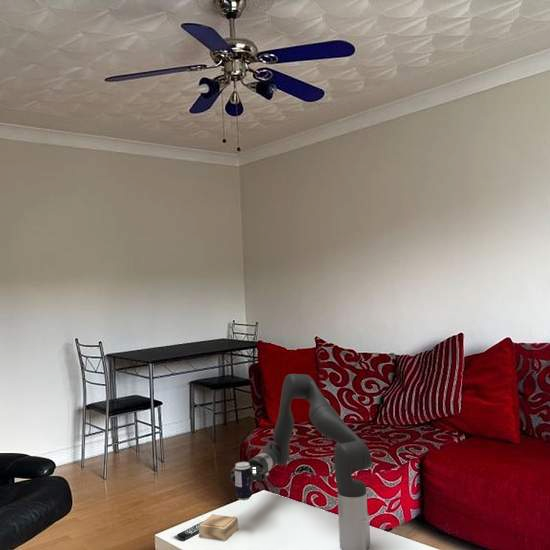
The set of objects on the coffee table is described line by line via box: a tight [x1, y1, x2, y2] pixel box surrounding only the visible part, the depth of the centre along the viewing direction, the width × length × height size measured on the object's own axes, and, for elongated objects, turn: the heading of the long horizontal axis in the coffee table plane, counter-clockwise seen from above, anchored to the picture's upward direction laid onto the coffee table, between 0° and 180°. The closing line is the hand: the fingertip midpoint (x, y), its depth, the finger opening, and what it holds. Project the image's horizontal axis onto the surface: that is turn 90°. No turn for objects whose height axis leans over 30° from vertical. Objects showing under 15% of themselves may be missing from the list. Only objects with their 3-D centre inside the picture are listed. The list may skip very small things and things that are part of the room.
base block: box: [198, 514, 239, 542], centre depth 198 cm, size 10×10×4 cm
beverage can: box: [234, 461, 253, 501], centre depth 201 cm, size 6×6×12 cm
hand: (239, 480), depth 199 cm, fingers closed on beverage can, 5 cm apart
